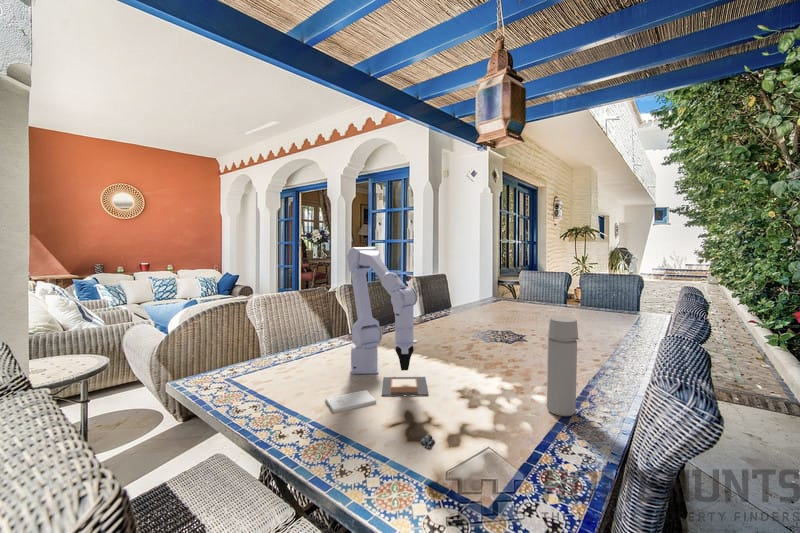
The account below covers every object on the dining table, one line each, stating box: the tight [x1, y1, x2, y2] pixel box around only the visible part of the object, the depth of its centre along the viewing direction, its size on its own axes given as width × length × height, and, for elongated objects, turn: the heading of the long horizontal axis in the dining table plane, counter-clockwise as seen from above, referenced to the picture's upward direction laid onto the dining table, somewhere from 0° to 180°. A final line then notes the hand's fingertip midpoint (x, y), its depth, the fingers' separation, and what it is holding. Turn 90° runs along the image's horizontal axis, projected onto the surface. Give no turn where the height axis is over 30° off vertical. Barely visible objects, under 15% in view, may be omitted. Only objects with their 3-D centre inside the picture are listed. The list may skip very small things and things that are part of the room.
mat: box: [381, 376, 429, 397], centre depth 114 cm, size 14×14×1 cm
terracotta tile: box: [391, 379, 417, 393], centre depth 112 cm, size 8×2×6 cm
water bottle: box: [545, 316, 580, 417], centre depth 96 cm, size 9×8×25 cm
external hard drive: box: [325, 389, 377, 414], centre depth 103 cm, size 2×8×12 cm
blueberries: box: [419, 434, 436, 450], centre depth 82 cm, size 7×8×2 cm
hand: (404, 369), depth 113 cm, fingers closed
